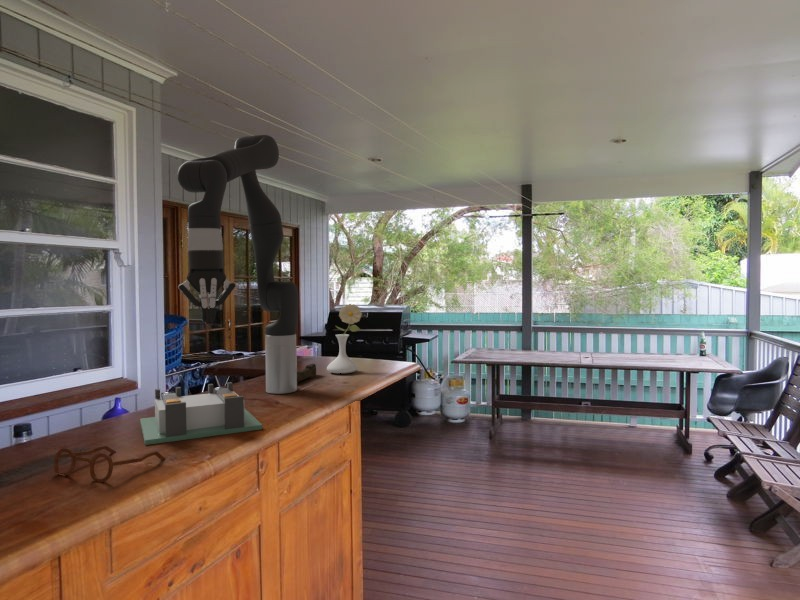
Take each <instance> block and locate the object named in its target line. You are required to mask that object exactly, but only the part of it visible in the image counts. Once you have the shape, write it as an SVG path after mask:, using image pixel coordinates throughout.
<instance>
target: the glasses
mask: <svg viewBox="0 0 800 600" xmlns="http://www.w3.org/2000/svg"><path fill="white" fill-rule="evenodd" d="M102 450H106V451H107V452H109V453H111V454H114V452H115V453H116V452H117V451H116V450H114V449H113V448H111V447H109V446H107V445H103V446H102V445H101V446H96V447H94V448H91V449H90V450H85V451H84V450H83V451H76V452H74V451H73V449H71V448H68V447H66V448H61V449H59V450H58V451H57V452H56V454H55V456H54V459H53V469H54V472H55V474H56V473H60V474H64V475H69V476H71V474H73V472H74V470H75V467H76V465H77V464H76V462H77V461H80V462H88V463H89V473H90V474H89V475H90V477H91V479H92V480H93V481H94V482H96V481H97V482H96V483H104V482H107V481H108V480H109V479H110V478H111V476H112V474H113V471H114V467H115V466H116V467H117V466H122V465H128V464H133V463H140V462H143V461H144V460H146V459H147V458H151V457H152V456H155V457H156V458H158V459H160V460H161V461H166V458H165V457H164V456H163V455H162V454H161V453H160V452H159V451H157V450H155V451H151V452H148V453H145V454H144V455H142V456H141V457H137V458H131V459H125V460H124V459H123V460H119V461H113V460H112V457H111V456H110V454H108V453H97V454H96V455H94V456H93V457H92V458H90V457H86V455H90V454H91V455H92V454H93V453H95V452H99V451H102ZM64 452H65V453H64ZM64 458H71V464H70V467H69V469H68V471H67V472H62V471H61V470H60V468H59V459H64ZM99 458H103V459H105V460H106V461H107V464H108V471H107V474H106V475H105V476H104V477H103V478H99V477H98V476H97V475H96V473H95V464H96V461H97V460H98V459H99Z"/></svg>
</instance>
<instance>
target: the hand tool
mask: <svg viewBox="0 0 800 600" xmlns="http://www.w3.org/2000/svg"><path fill="white" fill-rule="evenodd" d="M315 375H316V376H317V365H316V363H311V364H307V365H305V368H303V369H300V370H297V384H298V383H299V382H301V381H304V380H307V379H311V378H310V377H313V378H315V377H316V376H315ZM314 376H315V377H314Z"/></svg>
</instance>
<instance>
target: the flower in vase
mask: <svg viewBox="0 0 800 600" xmlns="http://www.w3.org/2000/svg"><path fill="white" fill-rule="evenodd" d="M339 310H340V311H339V314H338V317H339V318H340V320H341V322H343V323H346V324H348V326H347V328H346V329H344V328H341V327H339V326H337V325H335V328H337V329H338V330H340V331H343V333H341V334H340V333H339V334H338V333H337V334H335V337H336V339H337V342H338V346H339V349H338V351H339V352H338V355H337V357H336V358H335V359H333V360H332V361H331V362H330V363H329V364H328V365H327V367H326V370H327V371H328V372H330V373H333V374H340V373H341V374H350V373H355V372H357V371H358V370H359V366H358V364H357V363H356V362H355V361H354V360H352V359H351V358H350V357H349V356H348V355H347V351H346V350H347V349H346V345H347V340H348V338H349V337H350V334H347V333H346V332H347V331H348V330H350V332H358V331H361V328H360V327H359V326H357V325H356V324H355V323H358V322H360V320H361V318H362V315H363V312H362V311H361V309H360V307H359V306H357V305H355V304H352V303H349V304H346V305H344V306H342V307H341V309H339Z"/></svg>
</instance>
